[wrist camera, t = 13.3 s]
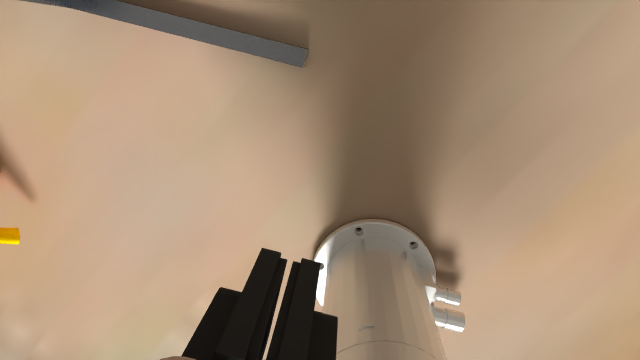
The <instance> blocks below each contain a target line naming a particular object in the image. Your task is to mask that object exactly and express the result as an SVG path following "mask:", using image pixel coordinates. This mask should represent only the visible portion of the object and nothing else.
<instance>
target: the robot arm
mask: <svg viewBox="0 0 640 360" xmlns="http://www.w3.org/2000/svg"><path fill="white" fill-rule="evenodd" d="M356 228H361V229H360V230H358V229H356ZM411 242H414V243H411ZM280 257H281V253H280V252H276V251H272V250H269V249H265V248H262V249H261V251H260V254H259V256H258V258H257V260H256V262H255V265H254V267H253V269H252V271H251V273H250V276H249V278H248V280H247V282H246V284H245V287H244V289H243V291H242V292H238V291H234V290H230V289H226V288H222V287H221V288H219V290H218V291H217V293H216V295H215V297H214V298H213V300H212V302H211V304H210V306H209V307H208V309H207V311H206V313H205V315H204V316H203V318H202V320H201V322H200V324H199V325H198V327H197V329H196V331H195V333H194V334H193V336H192V338H191V340H190V341H189V343H188V345H187V347H186V349H185V350H184V352H183V354H182V356H172V357H168V358H164V359H160V360H262V359H263V355H264V352H265V348H266V344H267V341H268V337H269V333H270V329H271V325H272V320H273V316H274V312H275V308H276V304H277V300H278V296H279V292H280V288H281V284H282V280H283V275H284V271H285V267H286V263H287V259H283V258H280ZM320 262H321V263H320ZM435 283H436V270H435V266H434V262H433V259H432V256H431V254H430V252H429V250H428V248H427V247H426V245H425V243H424V242H423V241H422V240H421V239H420V238H419V237H418V236H417V235H416V234H415V233H414V232H412V231H411V230H409V229H408V228H406V227H404V226H402V225H400V224H398V223H395V222H391V221H387V220H382V219H364V220H358V221H354V222H351V223H348V224H346V225H344V226H341V227H339V228H337V229H336V230H335V231H333V232H332V233H331V234H329V235H328V236H327V237H326V239H325V240H324V241H323V242H322V243H321V245H320V246H319V248H318V250H317V251H316V254H315V257H314V260H313V261H312V260H308V259H304V258H302V260H301V263H298V262H295V261H293V264H292V268H291V271H290V275H289V278H288V282H287V286H286V289H285V293H284V296H283V300H282V304H281V307H280V311H279V314H278V318H277V322H276V325H275V329H274V332H273V336H272V340H271V343H270V347H269V350H268V354H267V358H266V360H447V359H446V355H445V352H444V349H443V345H442V342H441V339H440V336H439V332H438V329H437V326H438V327H441V328H443V329H446V330H450V331H454V332H458V333H461V332H462V331H463V329H464V326H465V316H464V314H463V313H461V312H457V311H453V310H449V309H442V308H438V307H434V304H433V303H432V302H434V301H435V300H438V301H442V302H444V303H447V304H451V305H455V306H458V305H459V304H460V301H461V293H460V292H458V291H454V290H450V289H444V288H440V287H438V285H437V284H435ZM316 298H317V300H318V302H319V303H320V304H321V306H322V313H321V312H317V311H314V306H315V299H316Z"/></svg>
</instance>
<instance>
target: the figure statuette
mask: <svg viewBox="0 0 640 360" xmlns="http://www.w3.org/2000/svg"><path fill="white" fill-rule="evenodd" d="M19 241H20V235H19V229H18V228H0V244H18V243H19Z"/></svg>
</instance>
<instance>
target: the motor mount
mask: <svg viewBox="0 0 640 360" xmlns="http://www.w3.org/2000/svg"><path fill="white" fill-rule="evenodd" d="M21 1H28V2H34V3H41V4H47V5H54V6H61V7H67V8H72V9H76V10H80V11H84V12H88V13H92V14H96V15H100V16H104V17H108V18H111V19H115V20H119V21H123V22H127V23H131V24H135V25H139V26H143V27H147V28H151V29H154V30H158V31H162V32H166V33H170V34H174V35H178V36H182V37H186V38H190V39H194V40H197V41H201V42H205V43H209V44H213V45H217V46H221V47H225V48H229V49H233V50H237V51H240V52H244V53H248V54H252V55H256V56H260V57H264V58H268V59H272V60H276V61H280V62H283V63H287V64H291V65H295V66H299V67H305V63H306V59H307V54H308V49H305V48H301V47H297V46H293V45H289V44H285V43H281V42H277V41H273V40H269V39H265V38H262V37H258V36H254V35H250V34H246V33H242V32H238V31H234V30H230V29H226V28H223V27H219V26H215V25H211V24H207V23H203V22H199V21H195V20H191V19H187V18H183V17H180V16H176V15H172V14H168V13H164V12H160V11H156V10H152V9H148V8H144V7H140V6H137V5H133V4H129V3H125V2H121V1H117V0H21Z"/></svg>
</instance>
